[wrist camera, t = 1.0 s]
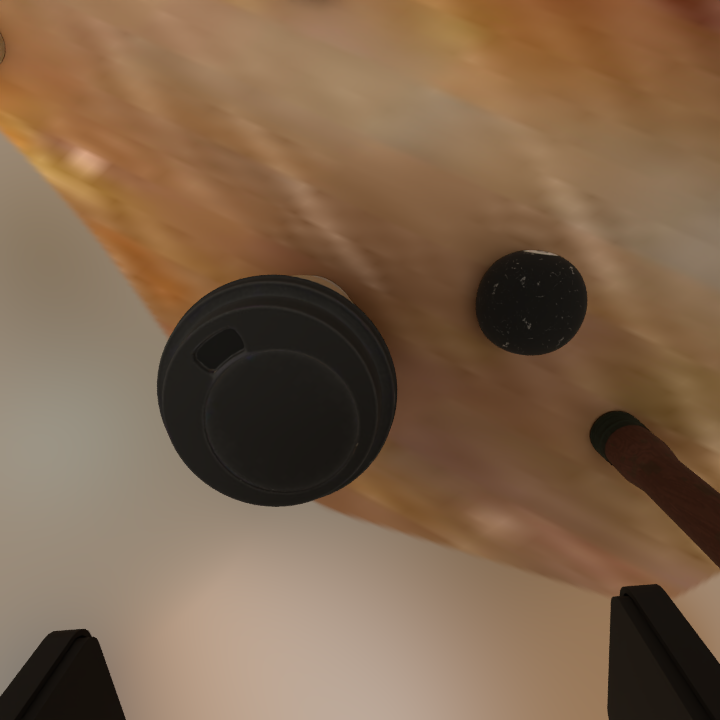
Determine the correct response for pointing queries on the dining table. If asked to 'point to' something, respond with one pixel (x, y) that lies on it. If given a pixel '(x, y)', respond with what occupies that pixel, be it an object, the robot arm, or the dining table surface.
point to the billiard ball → (531, 302)
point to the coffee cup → (277, 389)
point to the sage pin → (2, 48)
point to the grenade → (661, 477)
